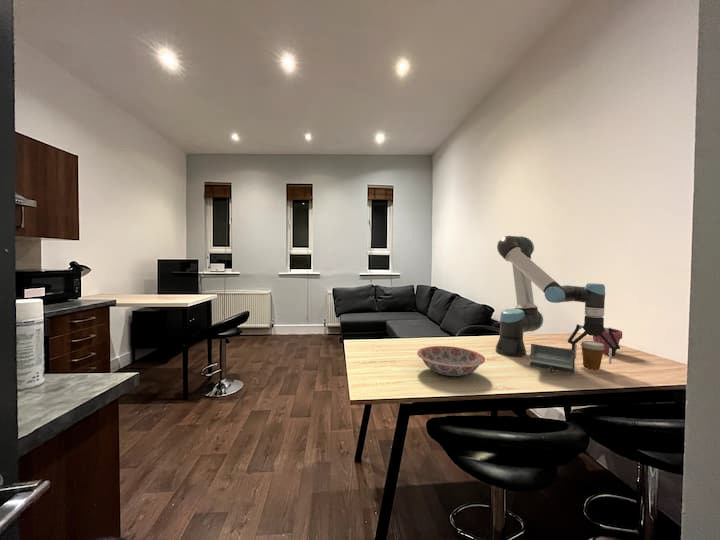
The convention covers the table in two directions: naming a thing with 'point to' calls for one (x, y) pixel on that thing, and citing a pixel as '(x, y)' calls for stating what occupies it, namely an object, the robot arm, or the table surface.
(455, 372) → the ceramic bowl
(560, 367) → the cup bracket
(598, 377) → the table surface
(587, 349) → the disposable coffee cup
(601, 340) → the plant pot
